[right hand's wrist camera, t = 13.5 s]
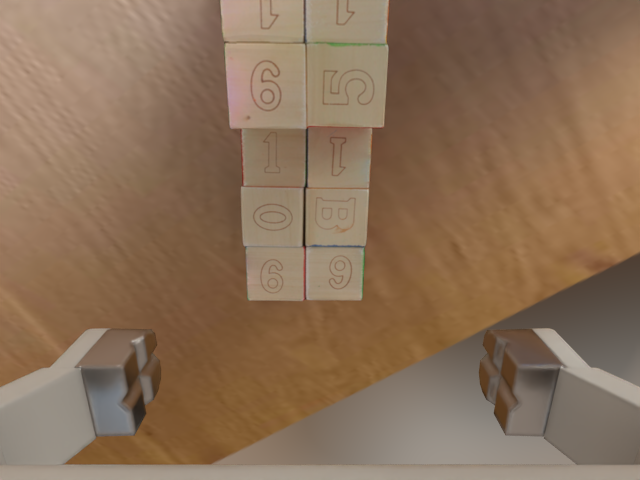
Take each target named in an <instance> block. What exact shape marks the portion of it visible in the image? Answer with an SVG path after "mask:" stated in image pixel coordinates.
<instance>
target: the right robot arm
mask: <svg viewBox="0 0 640 480" xmlns="http://www.w3.org/2000/svg"><path fill="white" fill-rule="evenodd" d="M156 346H157V341H156V336H155V333H154V332H153V331H152V329H109V328H96V329H87V330H86V331H85V332H84V333H83V334H82V335H81V336H80V337H79V338H78V339H77V340H76V341H75V342H74V343H73V344H72V345H71V346H70V347H69V348H68V349H67V350H66V351H65V352H64V353H63V354H62V355H61V356H60V357H59V358H58V360H57V361H56V362H55V363H54V364H53V365H52V366H51V367H50V368H41V369H39V370H37V371H35V372H32V373H30V374H28V375H26V376H24V377H21V378H19V379H17V380H15V381H13V382H10V383H8V384H6V385H4V386H2V387H0V480H640V387H638V386H636V385H634V384H632V383H629V382H627V381H625V380H623V379H621V378H618V377H616V376H614V375H612V374H610V373H608V372H605V371H603V370H601V369H599V368H590V367H589V366H588V365H587V364H586V363H585V362H584V361H583V359H582V358H581V357H580V356H579V355H578V354H577V353H576V352H575V351H574V350H573V349H572V348H571V347H570V346H569V345H568V344H567V343H566V342H565V341H564V340H563V339H562V338H561V337H560V336H559V335H558V334H557V333H556V332H555V331H554V330H552V329H550V328H539V329H508V330H487V331H486V333H485V335H484V341H483V346H484V348H485V349H486V351H487V354H486V355H485V356H484V357H483V358H482V359H481V360H480V368H479V378H480V385H481V388H482V392H483V394H484V396H485V398H486V400H488V401H489V402H491V403H492V404H494V405H495V409H494V415H495V417H496V418H497V420H498V422H499V424H500V426H501V428H502V429H503V431H504V433H505V435H512V436H544V439H546V440H547V441H548V442H549V443H551V444H552V445H553V446H554V447H556V448H557V449H558V450H559V451H561V452H562V453H563V454H564V455H566V456H567V457H568V458H569V459H571V460H572V461H573V462H574V463H576V464H577V465H63V464H65V463H66V462H67V461H68V460H70V459H71V458H72V457H73V456H75V455H76V454H77V453H78V452H80V451H81V450H82V449H83V448H85V447H86V446H87V445H88V444H90V443H91V442H92V441H93V440H95V439H96V436H128V435H135V433H136V431H137V430H138V428H139V426H140V424H141V422H142V420H143V418H144V417H145V415H146V409H145V405H146V404H148V403H149V402H151V401H152V400H154V398H155V396H156V394H157V392H158V388H159V384H160V380H161V367H160V360H159V359H158V358H157V357H156V356H155V355H154V354H153V351H154V349H155V348H156Z"/></svg>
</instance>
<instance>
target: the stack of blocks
mask: <svg viewBox="0 0 640 480" xmlns="http://www.w3.org/2000/svg"><path fill="white" fill-rule="evenodd" d="M389 2H390V0H220V13H221V27H222V35H223V40H224V44H225V48H224V57H225V71H226V86H227V101H228V114H229V126H230V129H241V155H242V183H243V185H242V186H241V217H242V236H243V245H244V246H245V248H246V277H247V299H248V300H255V301H303V300H305V299H307V300H362V297H363V279H364V261H365V250H364V247H365V246H366V239H367V220H368V202H369V185H370V173H371V148H372V128H383V127H384V120H385V101H386V84H387V66H388V50H389V48H388V45H387V31H388V18H389Z"/></svg>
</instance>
